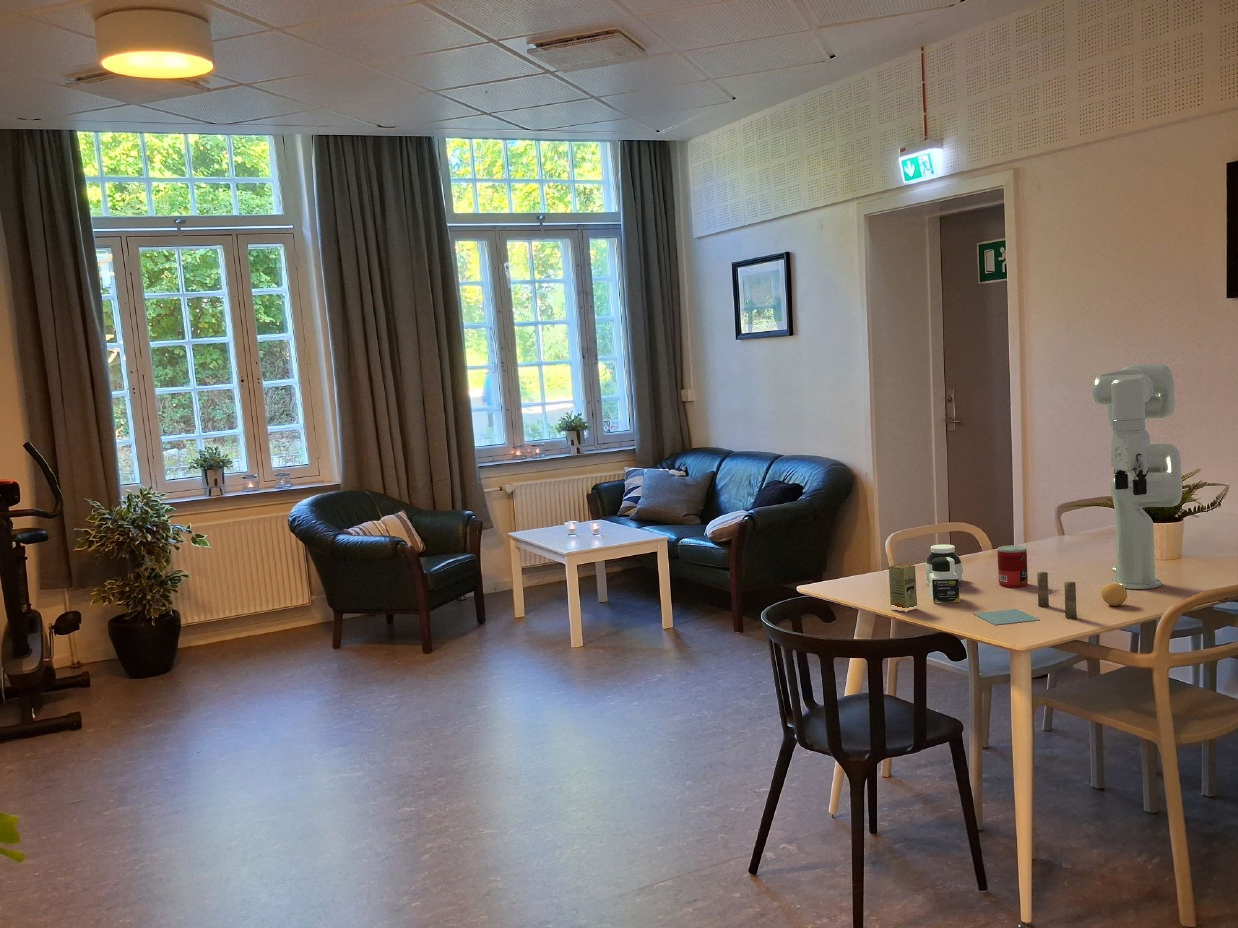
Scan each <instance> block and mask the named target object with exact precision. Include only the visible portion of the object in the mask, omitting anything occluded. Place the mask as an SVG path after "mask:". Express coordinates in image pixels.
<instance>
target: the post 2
mask: <svg viewBox="0 0 1238 928" xmlns="http://www.w3.org/2000/svg"><path fill="white" fill-rule="evenodd" d="M1063 585H1064V611H1065V612H1064V615H1065V619H1067V620H1069V619H1070V620H1074V619H1075V620H1076V619H1077V618H1078V617H1077V616H1078V614H1077V590H1076V589H1077V587H1076V585H1077V583H1076V582H1075V581H1064V583H1063Z"/></svg>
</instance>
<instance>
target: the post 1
mask: <svg viewBox="0 0 1238 928" xmlns="http://www.w3.org/2000/svg"><path fill="white" fill-rule="evenodd" d="M1048 577H1049V574H1048V572H1046V571H1038V572H1036V579H1037V581H1036V582H1037V600H1038V601H1037V605H1038V607H1040V608H1048V607H1050V602H1049V601H1050V599H1049V597H1050V596H1049V578H1048Z"/></svg>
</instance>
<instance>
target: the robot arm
mask: <svg viewBox="0 0 1238 928" xmlns="http://www.w3.org/2000/svg"><path fill="white" fill-rule="evenodd" d="M1091 391H1092V397H1093V400H1094V402H1095V403H1096V404H1097V405H1101V406H1106V409H1107V410H1106V411H1107V417H1108V421H1109V424H1110V426H1111V429H1112V436H1111V451H1110V452H1111V453H1110V454H1111V456H1110V457H1111V459H1110V463H1111V467H1112V468H1113V474H1114V477H1113V478H1112V480H1111V483H1110V491H1111V499H1112V503H1113V509H1114V519H1115V523H1114V524H1115V546H1116V547H1115V548H1116V549H1115V551H1116V566H1115V567H1112V569H1111V571H1112V572H1113V573H1115V577H1112V578H1111V580H1110V583H1119V584H1121V585H1122V586H1123V587H1124V588H1125V589H1128V590H1147V589H1148V590H1149V589H1156V588H1159V587H1161V586H1162V580H1161V579H1159V578H1157V577H1156V570H1155V569H1156V566H1155V561H1156V560H1155V529H1154V528H1155V527H1154V521H1153V520H1152V517H1151V516H1150V515H1149V514H1148V513H1147V512H1146V511H1145V510H1144V509H1143V508H1151V507H1152V508H1171V507H1175V506H1177V505H1179V504H1180V502H1182V498H1183V480H1182V479H1183V478H1182V475H1183V474H1182V460H1181V455H1180V451H1179V449H1178V447H1177V446H1175V445H1173V444H1171V443H1151V435H1150V433H1149V432H1148V431H1147V430H1146V419H1148V420H1149V419H1166V418H1168V417H1170V416H1172V415H1173V413H1174V411H1175V402H1176V401H1175V380H1174V374H1173V372H1172V370H1171V368H1170V367H1169V366H1168V365H1167V364H1162V363H1155V364H1154V363H1153V364H1151V363H1150V364H1139V365H1138V364H1137V365H1136V364H1135V365H1129V366H1128V365H1127V366H1125V367H1123V368H1121V369H1120V370H1117V371H1116V370H1115V371H1112V372H1107V373H1102V374H1099V375H1097V376H1096V377H1095V379H1094V381H1093V383H1092V390H1091Z"/></svg>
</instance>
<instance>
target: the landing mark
mask: <svg viewBox="0 0 1238 928" xmlns="http://www.w3.org/2000/svg"><path fill="white" fill-rule="evenodd" d="M972 615H973V616H976V617H978V618H980V619H982V620H984V621H986V622H987V623H989V624H992V625H994V626H1000V625H1010V624H1018V623H1027V622H1026V621H1029V622H1035V621H1041V619H1040V618H1037V617H1035V616H1033V615H1030V614H1029V613H1026V612H1024V611H1023V610H1020V609H1018V608H1012V609H1011V608H1010V609H1003V610H1002V609H1000V610H994V611H993V610H992V611H984V612H983V611H982V612H976V613H975V612H974V613H972Z"/></svg>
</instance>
